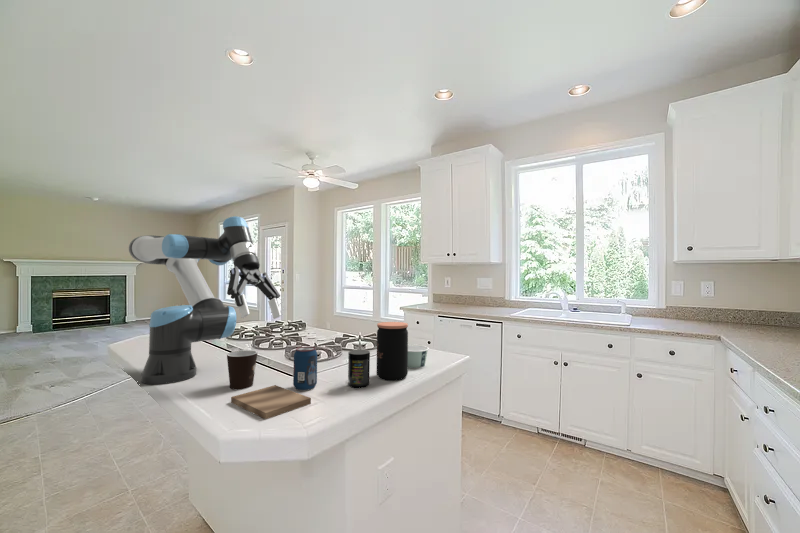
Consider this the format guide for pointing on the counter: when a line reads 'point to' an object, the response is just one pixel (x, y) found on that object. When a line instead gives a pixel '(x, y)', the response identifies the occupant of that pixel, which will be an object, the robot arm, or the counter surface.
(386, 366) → the coffee jar
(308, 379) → the soda can
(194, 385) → the counter surface
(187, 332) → the robot arm
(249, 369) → the coffee mug
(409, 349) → the food container
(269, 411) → the walnut board
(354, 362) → the supplement container
